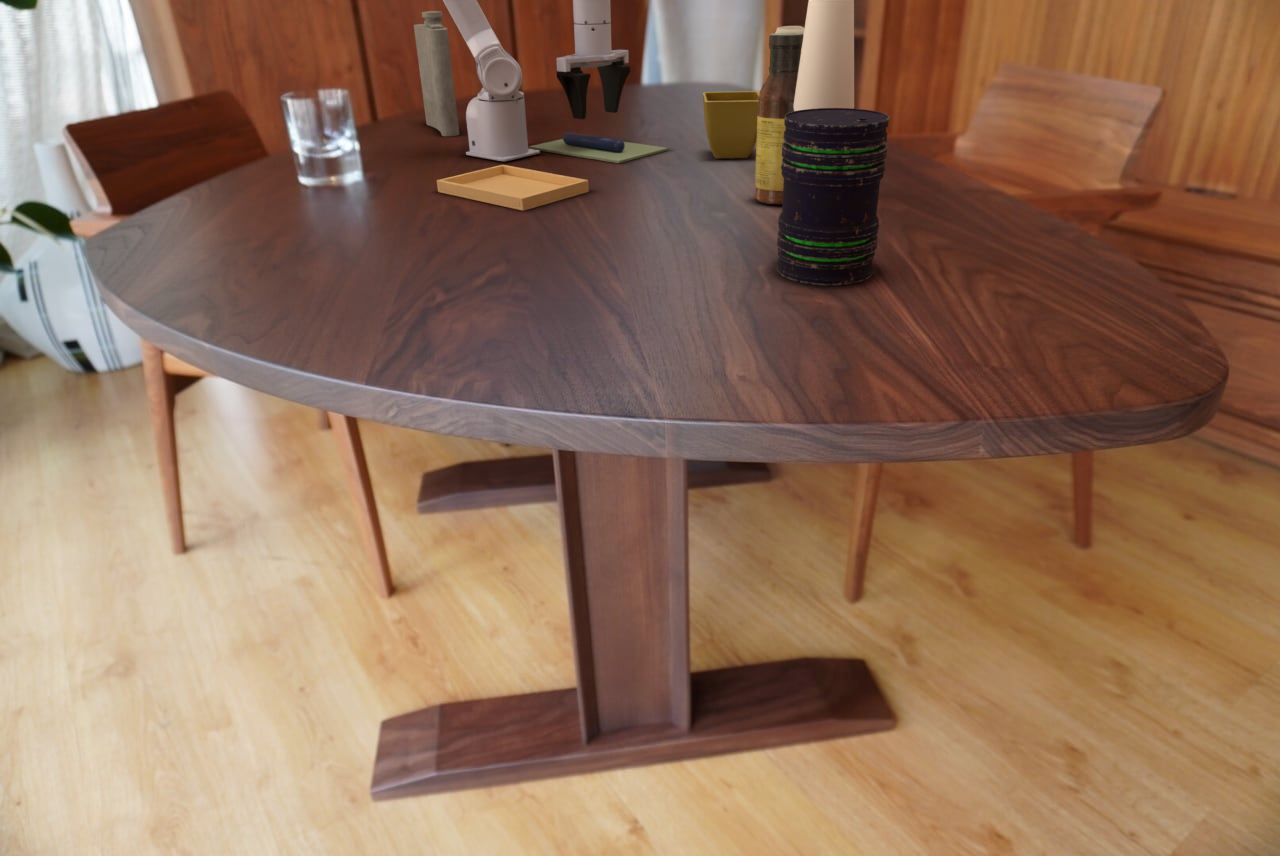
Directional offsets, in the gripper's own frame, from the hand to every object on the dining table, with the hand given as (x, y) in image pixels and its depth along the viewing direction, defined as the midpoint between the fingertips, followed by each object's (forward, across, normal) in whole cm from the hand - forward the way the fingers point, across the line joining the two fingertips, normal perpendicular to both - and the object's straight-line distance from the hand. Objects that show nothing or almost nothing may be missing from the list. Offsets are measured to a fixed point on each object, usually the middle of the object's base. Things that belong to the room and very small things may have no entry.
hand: (595, 115), depth 146 cm
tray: (+6, -28, -10) cm, 30 cm away
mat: (+5, 0, 0) cm, 5 cm away
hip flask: (+6, -2, +37) cm, 37 cm away
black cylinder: (+6, -32, -61) cm, 69 cm away
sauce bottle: (+6, -11, -42) cm, 44 cm away
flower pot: (+6, +8, -21) cm, 23 cm away
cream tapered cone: (+6, -17, -51) cm, 54 cm away
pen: (+4, 0, 0) cm, 4 cm away
